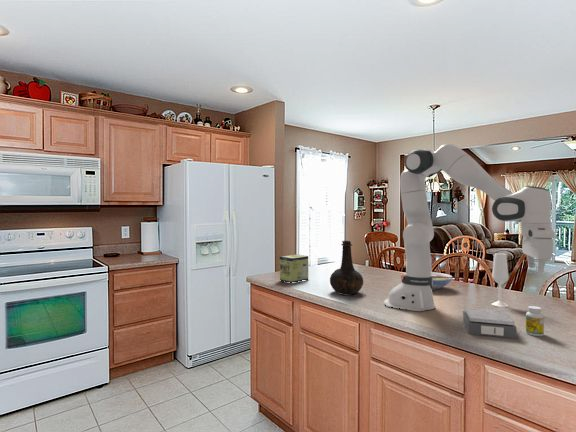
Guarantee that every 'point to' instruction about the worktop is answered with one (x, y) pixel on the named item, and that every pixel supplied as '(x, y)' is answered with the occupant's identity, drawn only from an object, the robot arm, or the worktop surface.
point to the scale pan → (489, 316)
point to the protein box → (293, 268)
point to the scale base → (489, 328)
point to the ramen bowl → (440, 280)
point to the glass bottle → (346, 274)
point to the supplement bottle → (534, 321)
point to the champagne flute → (500, 274)
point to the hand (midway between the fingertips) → (535, 269)
